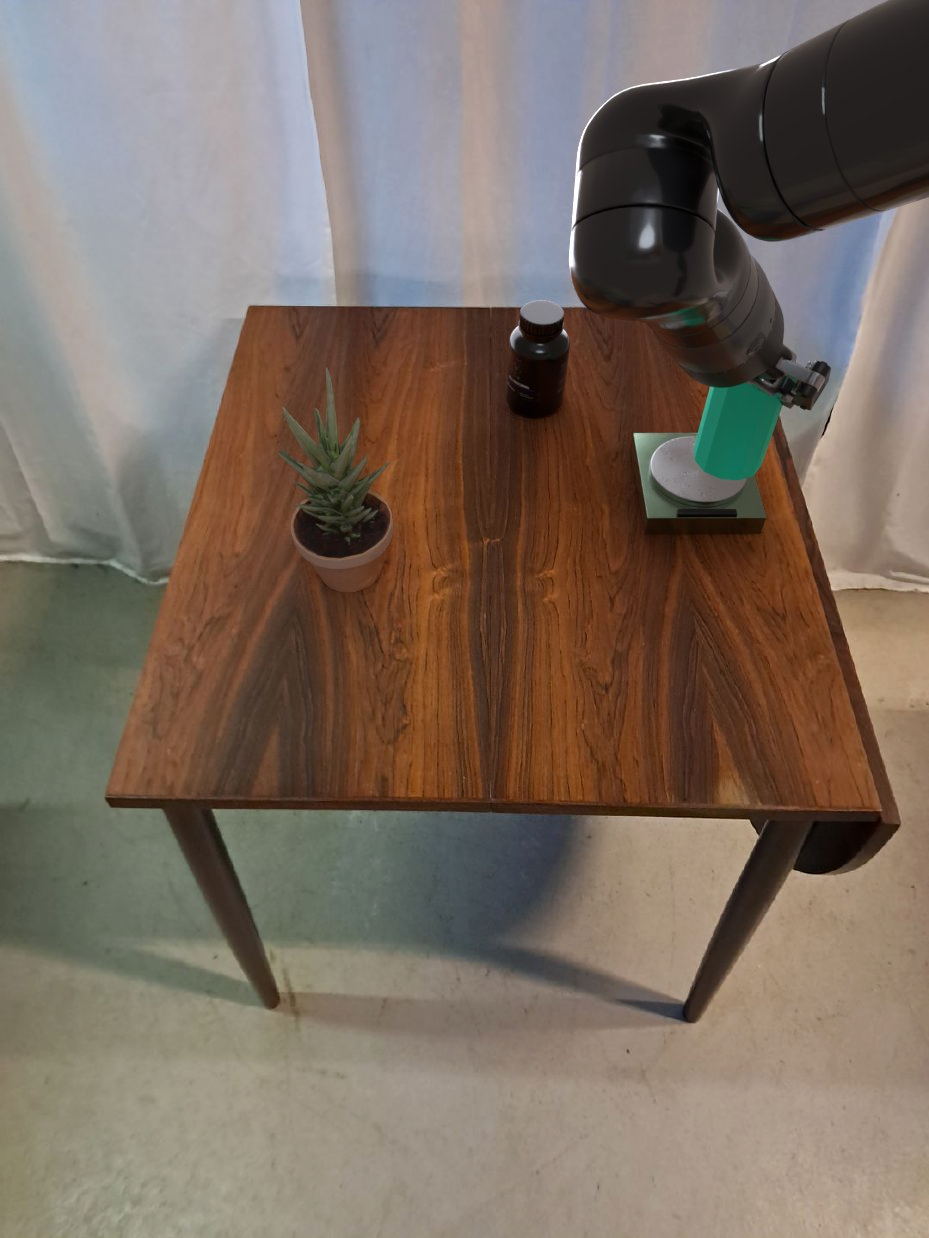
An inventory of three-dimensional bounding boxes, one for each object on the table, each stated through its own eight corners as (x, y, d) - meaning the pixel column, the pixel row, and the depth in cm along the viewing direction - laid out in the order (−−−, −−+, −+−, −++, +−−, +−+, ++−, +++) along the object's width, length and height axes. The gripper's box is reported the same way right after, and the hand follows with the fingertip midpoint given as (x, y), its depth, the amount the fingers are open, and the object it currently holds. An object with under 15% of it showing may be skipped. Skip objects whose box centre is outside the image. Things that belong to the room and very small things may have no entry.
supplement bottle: (502, 417, 103) (505, 327, 94) (510, 381, 107) (513, 291, 98) (561, 423, 103) (570, 333, 93) (566, 386, 107) (575, 296, 97)
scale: (760, 534, 92) (768, 512, 89) (644, 534, 92) (648, 512, 89) (737, 449, 100) (744, 427, 97) (630, 449, 100) (634, 427, 97)
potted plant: (321, 621, 85) (275, 417, 66) (289, 555, 90) (238, 347, 71) (417, 586, 88) (400, 380, 68) (380, 524, 93) (356, 315, 73)
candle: (686, 470, 77) (716, 353, 68) (700, 428, 81) (732, 311, 71) (755, 488, 76) (796, 371, 66) (767, 444, 79) (808, 327, 70)
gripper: (848, 302, 55) (866, 372, 70) (652, 224, 61) (707, 304, 76) (782, 413, 57) (813, 458, 71) (597, 326, 62) (661, 385, 77)
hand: (758, 379), depth 73 cm, fingers closed on candle, 6 cm apart
